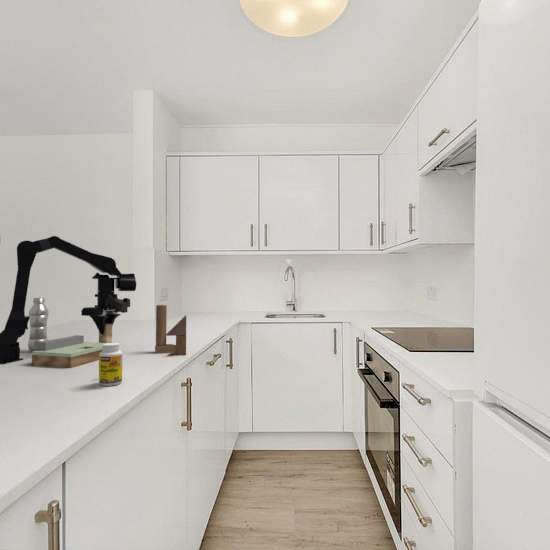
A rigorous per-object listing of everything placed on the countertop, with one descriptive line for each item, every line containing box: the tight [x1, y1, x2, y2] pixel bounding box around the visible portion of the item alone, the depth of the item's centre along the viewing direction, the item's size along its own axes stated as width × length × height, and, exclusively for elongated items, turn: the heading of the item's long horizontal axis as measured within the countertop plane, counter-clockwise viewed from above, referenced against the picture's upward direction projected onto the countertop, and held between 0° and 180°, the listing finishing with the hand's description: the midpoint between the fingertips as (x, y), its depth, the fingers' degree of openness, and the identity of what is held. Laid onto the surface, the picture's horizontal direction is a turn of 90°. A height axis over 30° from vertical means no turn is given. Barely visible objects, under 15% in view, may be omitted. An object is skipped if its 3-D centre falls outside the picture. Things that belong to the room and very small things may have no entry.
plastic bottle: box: [27, 297, 49, 352], centre depth 145 cm, size 6×7×20 cm
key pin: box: [98, 324, 113, 343], centre depth 142 cm, size 3×3×9 cm
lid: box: [31, 334, 106, 357], centre depth 124 cm, size 14×20×4 cm
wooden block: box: [154, 304, 187, 357], centre depth 139 cm, size 4×11×18 cm, turn 104°
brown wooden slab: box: [31, 350, 103, 369], centre depth 124 cm, size 14×20×4 cm
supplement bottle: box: [98, 342, 124, 387], centre depth 99 cm, size 6×6×10 cm
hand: (105, 333), depth 142 cm, fingers closed on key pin, 3 cm apart
